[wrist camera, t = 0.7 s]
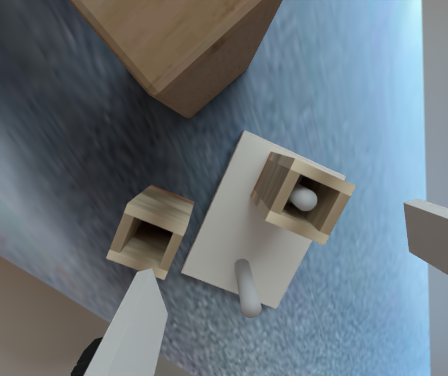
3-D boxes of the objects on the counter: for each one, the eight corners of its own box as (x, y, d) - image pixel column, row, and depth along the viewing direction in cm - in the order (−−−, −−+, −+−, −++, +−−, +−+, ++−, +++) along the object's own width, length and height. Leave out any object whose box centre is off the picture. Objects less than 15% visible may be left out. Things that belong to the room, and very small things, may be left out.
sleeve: (135, 224, 36) (106, 258, 26) (151, 184, 35) (127, 203, 25) (177, 241, 37) (164, 280, 27) (194, 201, 36) (187, 227, 26)
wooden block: (250, 66, 33) (305, -37, 13) (188, 120, 34) (153, 101, 14) (195, -6, 31) (165, -246, 11) (132, 54, 32) (3, -74, 12)
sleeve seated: (250, 195, 34) (265, 220, 24) (270, 151, 33) (295, 158, 23) (292, 213, 34) (324, 245, 25) (314, 171, 33) (355, 186, 24)
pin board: (182, 265, 37) (170, 318, 27) (242, 130, 34) (256, 128, 23) (273, 300, 39) (295, 363, 28) (338, 174, 36) (392, 191, 25)
